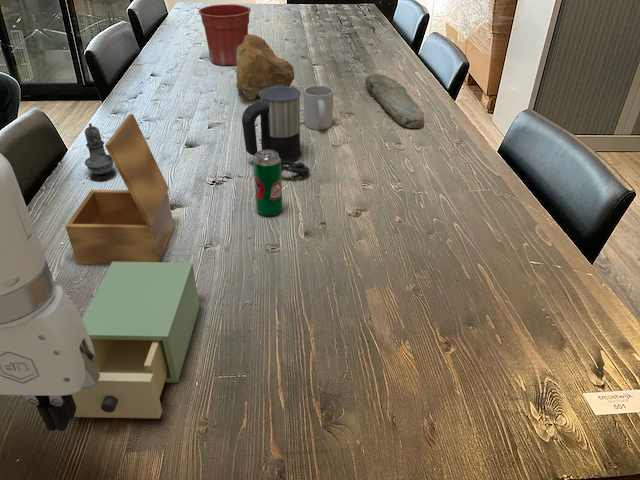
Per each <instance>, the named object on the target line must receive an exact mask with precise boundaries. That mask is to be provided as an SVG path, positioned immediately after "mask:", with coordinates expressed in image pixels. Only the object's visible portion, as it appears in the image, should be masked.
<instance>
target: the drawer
mask: <svg viewBox="0 0 640 480" xmlns="http://www.w3.org/2000/svg"><path fill="white" fill-rule="evenodd" d="M91 342H92V345H93V348H94V352H95V360H94V361H92V364H93V365H94V367H95V368H96V369H97V371H98V372H99V374H100V378H99V380H98V382H97V384H96V386H95V387H92V388H86V389H81V390H80V391H79V392H77V393H74V394H72V397H73V399H74V402H75V404H76V412H75V415H74V417H73V418H108V419H109V418H110V419H111V418H113V419H118V418H119V419H161V417H162V414H163V408H162V403H161V399H160V398H161V396H162V392H163V388H164V386H165V383H166V382H165V380H166V376H167V373H168V370H169V367H168V363H167V358H166V354H165V350H164V345H163V341H161V340H101V339H91Z"/></svg>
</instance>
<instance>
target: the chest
mask: <svg viewBox="0 0 640 480" xmlns="http://www.w3.org/2000/svg"><path fill="white" fill-rule="evenodd" d="M172 214H173V213H172V209H171V202H170V198H169V190H168V191H167V193H166V195H165V197H164V199H163V201H162V203H161V206H160V208H159V210H158V212H157V214H156V216H155V218H154V220H153V222H152V224H151V225H148V226H147V224H146V222H145V220H144V218H143V216H142V215H141V213H140V211H139V209H138V207H137V205H136V203H135V201H134V200H133V198H132V196H131V194H130V192H129V190H128V189H124V190H123V189H91V190H89V192H88V194H87V195H86V196H85V198H84V199H83V201H82V202H81V203H80V204H79V206H78V208H77V209H76V211H75V212H74V213H73V214H72V216H71V217H70V219H69V220H68V222H67V223H66V225H65V230H66V234H67V236H68V240H69V242H70V246H71V249H72V251H73V255H74V259H75V260H76V261H75V262H76V265H78V266H79V265H83V266H110V265H111V263H112V262H161V259H162V257H163V254H164V252H165V250H166V247H167V246H168V242H169V240H170V238H171V236H172V233H173V230H174V229H175V226H174V220H173V219H174V218H173V215H172Z"/></svg>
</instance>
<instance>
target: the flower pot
mask: <svg viewBox="0 0 640 480" xmlns="http://www.w3.org/2000/svg"><path fill="white" fill-rule="evenodd" d="M251 12H252V8H251V7H249V6H247V5H242V4H232V3H231V4H230V3H228V4H214V5H207V6H204V7H201V8H199V9H198V14H199V15H200V18H201V23H202V25H203V28H204V33H205V38H206V42H207V48H208V54H209V57H210V62H211V64H214V65H217V66H222V67H223V66H224V67H225V66H228V65H230V66H237V50H238V46H239V45H240V44H242V43H243V41H244V38H245V36H246V35H247V34H249V24H250V13H251Z"/></svg>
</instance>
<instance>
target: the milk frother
mask: <svg viewBox="0 0 640 480" xmlns="http://www.w3.org/2000/svg"><path fill="white" fill-rule="evenodd" d="M301 95H302V92H301V90H300V89H298V88H296V87H292V86H289V87H288V86H273V87H268V88H265V89H262V90H261V91H260V92H259V96H260V97H259V96H258V97H259V98H260V101H258V102H254V103H251V104H250V105H248V106H247V107H246V108H245V110H244V111H243V113H242V116H241V125H242V131H243V140H244V145H245V152H247V154H249V155H251V156H255V154H256V153H257V152H258V151H259V150H258V140H257V131H256V120H257V118H258V117H260V134H261V136H260V137H261V138H260V139H261V140H260V141H261V142H260V144H261V145H260V146H261V150H274V151H276V152H277V153H278V154H279V157H280V159H281V170H283V171H286V172H290V173H294V174H297V175H299V176H303V175H304V174H308V173H310V168H309V166H308V165H305V163H304V162H301V161H299V162H295V161H297V160H299V159H300V158H301V157H302V155H303V153H302V150H301V130H300V129H301V105H300V104H301V102H300V101H301Z"/></svg>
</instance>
